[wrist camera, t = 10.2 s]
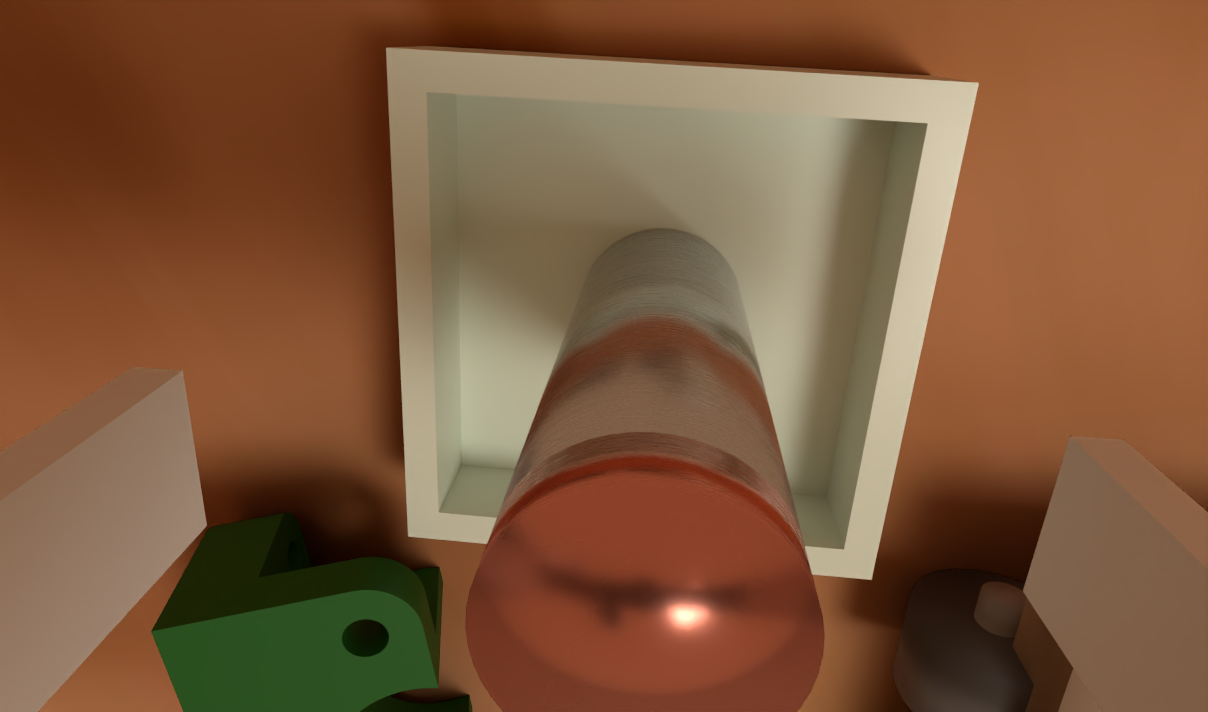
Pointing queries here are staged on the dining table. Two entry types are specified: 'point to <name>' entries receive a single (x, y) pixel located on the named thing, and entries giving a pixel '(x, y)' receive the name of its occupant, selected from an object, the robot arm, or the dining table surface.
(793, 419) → the tray
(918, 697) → the trolley
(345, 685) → the clamp
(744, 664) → the pin
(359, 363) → the dining table surface
